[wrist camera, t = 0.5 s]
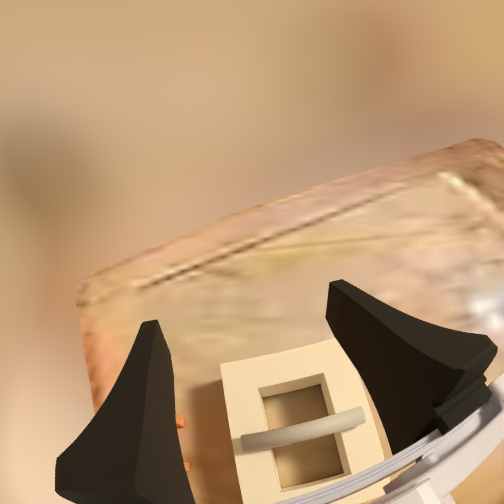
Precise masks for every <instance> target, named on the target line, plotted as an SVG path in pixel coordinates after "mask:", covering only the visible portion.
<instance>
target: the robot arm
mask: <svg viewBox="0 0 504 504" xmlns="http://www.w3.org/2000/svg"><path fill="white" fill-rule="evenodd" d="M325 318H326V320H327V322H328V324H329V326H330V328H331V330H332V332H333V334H334V336H335V338H336V340H337V341H338V343H339V344H340V346H341V347H342V349H343V350H344V352H345V353H346V355H347V356H348V358H349V359H350V361H351V362H352V364H353V365H354V367H355V368H356V370H357V371H358V373H359V374H360V376H361V378H362V380H363V381H364V383H365V385H366V387H367V389H368V391H369V394H370V396H371V398H372V400H373V402H374V404H375V407H376V409H377V411H378V414H379V416H380V419H381V421H382V424H383V427H384V429H385V432H386V435H387V438H388V441H389V444H390V448H391V451H392V454H393V456H392V457H390V458H388V459H386V460H384V461H382V462H380V463H378V464H376V465H374V466H372V467H370V468H368V469H366V470H364V471H362V472H359V473H357V474H355V475H353V476H351V477H348V478H346V479H343V480H341V481H339V482H336V483H334V484H331V485H329V486H326V487H323V488H320V489H318V490H315V491H312V492H309V493H306V494H303V495H300V496H297V497H294V498H290V499H287V500H283V501H280V502H276V503H272V504H330V503H333V502H335V501H338V500H340V499H343V498H345V497H347V496H350V495H352V494H354V493H357V492H359V491H361V490H363V489H365V488H367V487H369V486H371V485H373V484H375V483H377V482H379V481H381V480H383V479H385V478H387V477H389V476H391V475H393V474H394V473H396V472H398V471H400V470H401V469H403V468H405V467H407V466H408V465H410V464H412V463H413V462H415V461H416V460H417V461H416V464H415V465H413V466H412V467H410V468H409V469H407V470H406V471H404V472H403V473H401V474H399V476H398V477H397V478H395V479H394V480H393V481H391V482H390V483H388V484H387V485H385V486H384V487H383V490H384V492H385V493H386V495H385V496H383V497H381V498H379V499H377V500H375V501H373V502H371V503H369V504H456V503H455V502H454V500H453V498H452V497H451V495H450V492H451V491H452V490H453V489H454V488H456V487H457V486H458V485H459V484H460V483H461V482H462V481H464V480H465V479H466V478H467V477H468V476H469V475H470V474H471V473H472V472H473V471H474V470H475V469H476V468H477V467H478V466H479V465H480V464H481V463H482V462H483V461H484V460H485V459H486V458H487V457H488V456H489V455H490V454H491V453H492V452H493V451H494V449H495V448H496V447H497V446H498V445H499V444H500V443H501V442H502V440H503V439H504V371H503V372H502V373H501V374H500V375H499V376H498V377H497V378H496V379H494V380H493V381H492V382H491V383H490V384H489V385H488V387H487V386H486V384H485V382H486V380H487V379H486V377H485V376H484V375H483V374H484V372H485V371H486V369H487V368H488V366H489V365H490V363H491V362H492V360H493V359H494V357H495V355H496V353H497V350H498V347H497V346H496V345H495V344H494V343H493V342H492V341H491V339H490V338H489V337H488V336H487V335H482V334H474V333H466V332H461V331H456V330H452V329H448V328H444V327H440V326H437V325H434V324H431V323H428V322H425V321H422V320H420V319H417V318H415V317H412V316H410V315H408V314H405V313H403V312H401V311H399V310H397V309H395V308H393V307H391V306H389V305H387V304H385V303H383V302H382V301H380V300H378V299H376V298H374V297H373V296H371V295H369V294H367V293H366V292H364V291H362V290H360V289H359V288H357V287H355V286H354V285H352V284H350V283H348V282H346V281H344V280H342V279H340V280H337V281H333V282H329V291H328V301H327V309H326V317H325ZM55 468H56V469H55V491H56V493H57V494H58V495H60V496H61V497H63V498H65V499H67V500H69V501H72V502H74V503H76V504H196V503H195V500H194V497H193V494H192V491H191V488H190V484H189V481H188V477H187V473H186V470H185V466H184V461H183V457H182V453H181V448H180V443H179V438H178V433H177V426H176V414H175V394H174V374H173V367H172V360H171V354H170V351H169V348H168V346H167V343H166V341H165V338H164V336H163V333H162V330H161V328H160V325H159V322H158V320H151V321H146V322H143V323H142V324H141V326H140V329H139V331H138V334H137V337H136V339H135V342H134V344H133V346H132V349H131V351H130V353H129V356H128V358H127V360H126V362H125V364H124V367H123V369H122V371H121V373H120V375H119V377H118V379H117V381H116V382H115V384H114V386H113V388H112V390H111V391H110V393H109V395H108V396H107V398H106V400H105V401H104V403H103V404H102V406H101V407H100V409H99V410H98V412H97V413H96V415H95V416H94V418H93V419H92V420H91V422H90V423H89V424H88V425H87V427H86V428H85V429H84V430H83V432H82V433H81V434H80V435H79V436H78V437H77V439H76V440H75V441H74V442H73V443H72V444H71V445H70V446H69V447H68V448H67V449H66V450H65V451H64V452H63V453H62V454H61V455H60V456H59V457H57V460H56V467H55Z"/></svg>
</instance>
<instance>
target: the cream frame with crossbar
mask: <svg viewBox="0 0 504 504" xmlns="http://www.w3.org/2000/svg"><path fill="white" fill-rule="evenodd" d="M220 366H221V373H222V381H223V388H224V395H225V401H226V408H227V414H228V421H229V427H230V433H231V439H232V445H233V451H234V457H235V462H236V468H237V473H238V479H239V484H240V489H241V494H242V499H243V504H272V503H276V502H280V501H283V500H287V499H290V498H294V497H297V496H300V495H303V494H306V493H309V492H312V491H315V490H318V489H320V488H323V487H326V486H329V485H331V484H334V483H336V482H339V481H341V480H343V479H346V478H348V477H351V476H353V475H355V474H357V473H359V472H362V471H364V470H366V469H368V468H370V467H372V466H374V465H376V464H378V463H380V462H382V461H384V460H385V459H384V455H383V451H382V448H381V444H380V441H379V437H378V434H377V431H376V427H375V424H374V421H373V417H372V414H371V411H370V408H369V404H368V401H367V398H366V395H365V392H364V389H363V386H362V383H361V380H360V377H359V374H358V371H357V370H356V368H355V367H354V365H353V364H352V362H351V361H350V359H349V358H348V356H347V355H346V353H345V352H344V350H343V349H342V347H341V346H340V344H339V343H338V341H337V340H336V338H334V339H330V340H327V341H323V342H319V343H316V344H312V345H308V346H304V347H300V348H296V349H291V350H287V351H283V352H279V353H274V354H269V355H265V356H260V357H255V358H250V359H245V360H240V361H235V362H229V363H223V364H220ZM318 384H320V385H321V389H322V392H323V396H324V399H325V403H326V407H327V410H328V414H329V416H327V417H323V418H320V419H316V420H312V421H308V422H304V423H300V424H296V425H292V426H287V427H282V428H278V429H273V430H269V429H268V424H267V420H266V415H265V410H264V405H263V400H262V397H267V396H272V395H277V394H281V393H286V392H290V391H294V390H299V389H303V388H307V387H311V386H314V385H318ZM332 433H334V436H335V440H336V444H337V448H338V452H339V455H340V459H341V463H342V467H343V471H344V473H342V474H339V475H335V476H332V477H328V478H325V479H321V480H317V481H313V482H309V483H305V484H300V485H296V486H291V487H286V488H281V486H280V482H279V477H278V472H277V468H276V463H275V458H274V453H273V449H272V448H274V447H280V446H284V445H289V444H294V443H298V442H302V441H306V440H310V439H314V438H318V437H322V436H325V435H329V434H332ZM390 482H391V481H390V478H389V477H387V478H385V479H383V480H381V481H379V482H377V483H375V484H373V485H371V486H369V487H367V488H365V489H363V490H361V491H359V492H357V493H354V494H352V495H350V496H347V497H345V498H343V499H340V500H338V501H335V502H333V503H330V504H359V503H362V502H365V501H368V500H371V499H373V498H376V497H379V496H381V495H384V494H386V493H385V492H384V490H383V487H384V486H385V485H387V484H388V483H390Z"/></svg>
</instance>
